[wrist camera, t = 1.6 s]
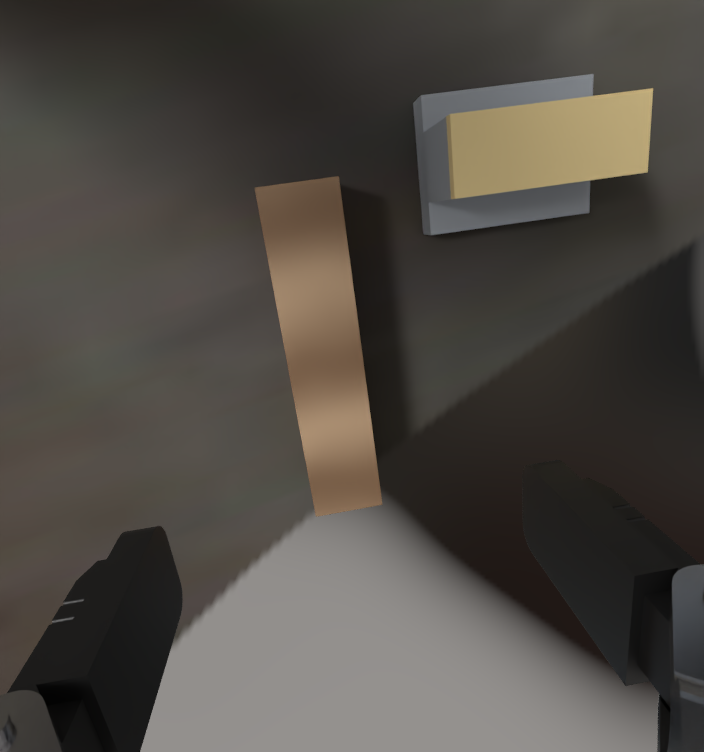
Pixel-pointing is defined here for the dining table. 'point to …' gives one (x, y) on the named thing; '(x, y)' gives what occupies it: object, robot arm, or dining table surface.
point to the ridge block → (524, 150)
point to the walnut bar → (321, 339)
